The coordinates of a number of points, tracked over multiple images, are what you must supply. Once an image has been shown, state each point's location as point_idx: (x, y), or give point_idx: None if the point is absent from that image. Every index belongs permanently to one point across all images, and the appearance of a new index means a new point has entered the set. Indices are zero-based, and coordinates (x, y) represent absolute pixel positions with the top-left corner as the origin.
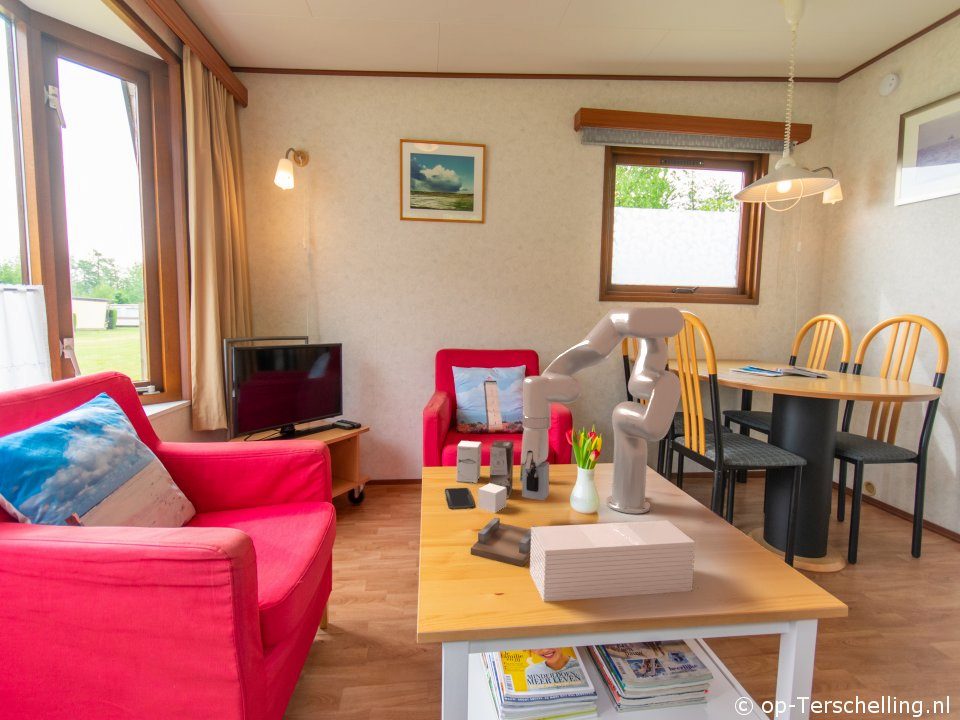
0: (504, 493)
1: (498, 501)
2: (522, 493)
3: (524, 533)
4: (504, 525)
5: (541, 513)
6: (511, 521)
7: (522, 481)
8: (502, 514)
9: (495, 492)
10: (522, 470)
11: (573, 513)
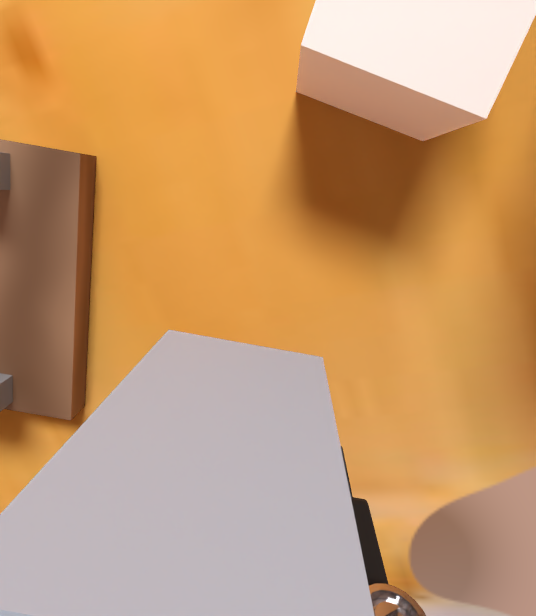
0: (435, 115)
1: (340, 90)
2: (157, 343)
3: (12, 334)
4: (55, 211)
5: (368, 365)
6: (209, 223)
7: (109, 395)
8: (292, 146)
9: (325, 38)
10: (25, 490)
11: (407, 508)
